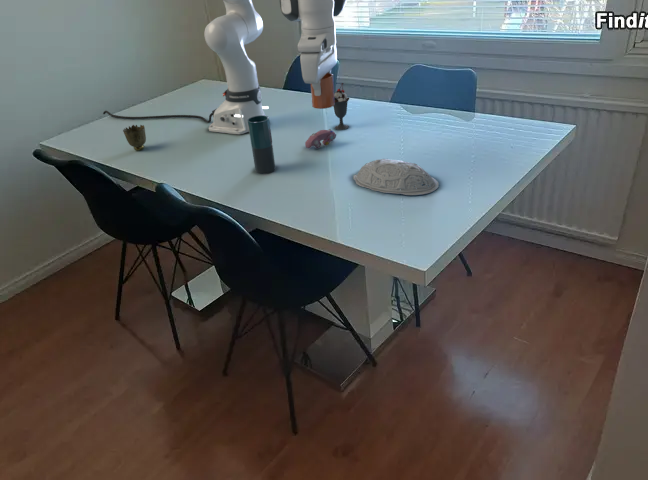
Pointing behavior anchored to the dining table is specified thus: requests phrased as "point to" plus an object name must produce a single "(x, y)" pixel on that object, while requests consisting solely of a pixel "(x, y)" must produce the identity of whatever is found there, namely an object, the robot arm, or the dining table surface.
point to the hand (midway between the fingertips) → (322, 90)
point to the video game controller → (320, 138)
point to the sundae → (340, 107)
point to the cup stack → (261, 144)
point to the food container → (395, 177)
